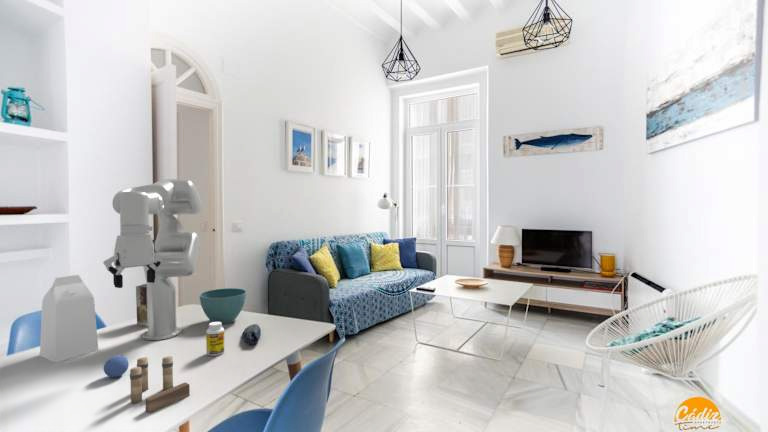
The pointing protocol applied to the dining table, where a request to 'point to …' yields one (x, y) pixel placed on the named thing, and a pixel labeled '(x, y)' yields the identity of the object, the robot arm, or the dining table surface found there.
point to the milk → (68, 320)
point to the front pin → (143, 372)
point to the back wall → (167, 397)
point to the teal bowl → (223, 304)
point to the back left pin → (167, 372)
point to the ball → (116, 366)
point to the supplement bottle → (215, 339)
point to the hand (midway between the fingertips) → (135, 284)
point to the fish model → (252, 334)
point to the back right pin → (136, 385)
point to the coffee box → (141, 304)
